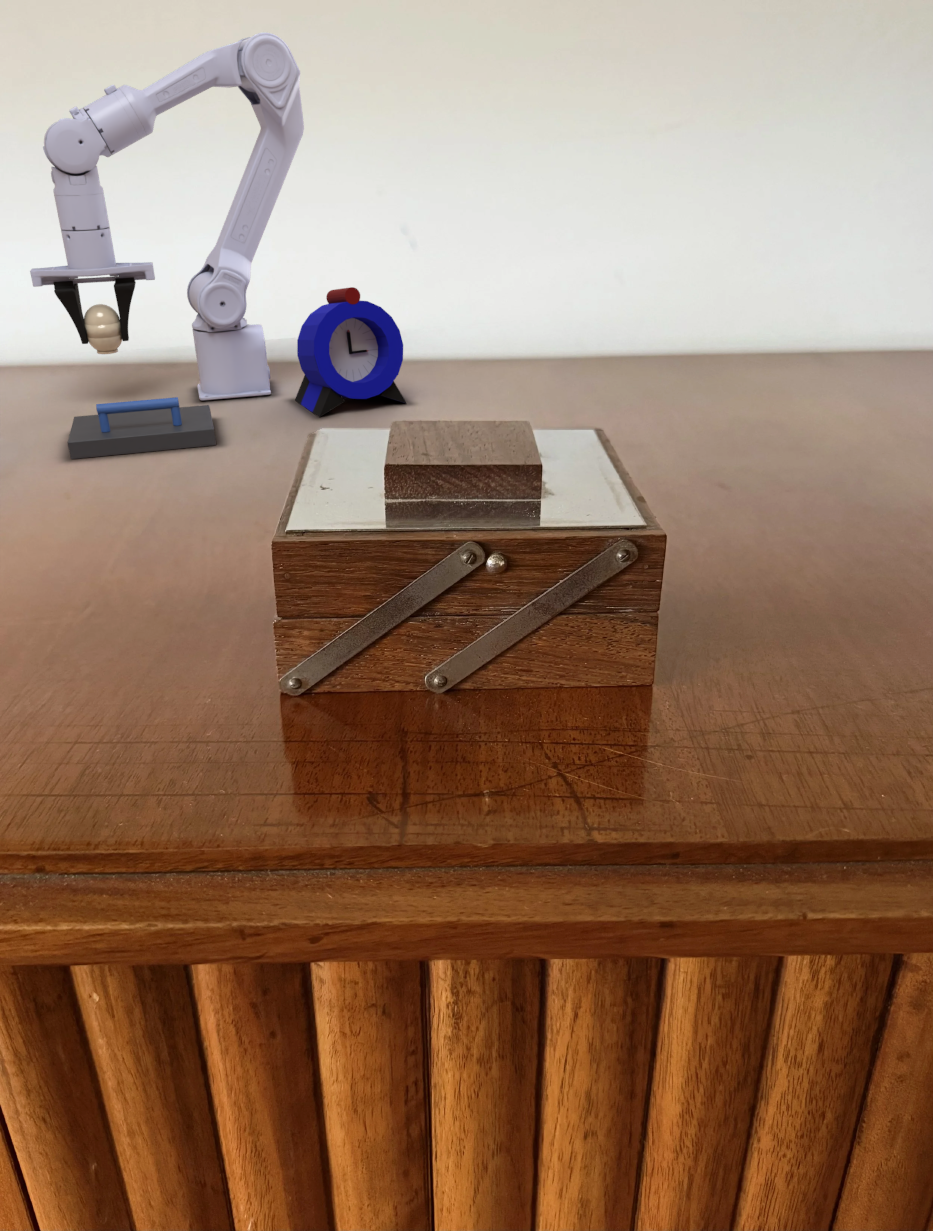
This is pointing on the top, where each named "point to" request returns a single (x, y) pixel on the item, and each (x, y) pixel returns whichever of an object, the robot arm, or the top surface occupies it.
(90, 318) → the lidded jar
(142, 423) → the handle board
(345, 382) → the alarm clock
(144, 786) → the top surface
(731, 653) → the top surface
